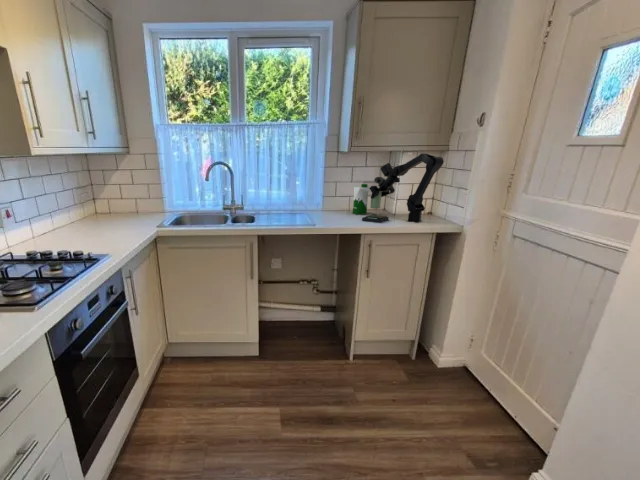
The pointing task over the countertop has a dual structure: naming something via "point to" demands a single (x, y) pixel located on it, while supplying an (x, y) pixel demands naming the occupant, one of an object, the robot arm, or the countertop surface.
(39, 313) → the countertop surface
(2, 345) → the countertop surface
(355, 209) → the milk carton
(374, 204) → the tumbler
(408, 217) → the robot arm
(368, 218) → the scale
